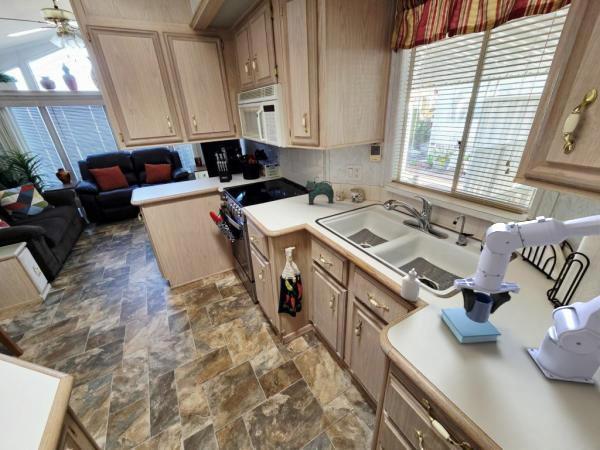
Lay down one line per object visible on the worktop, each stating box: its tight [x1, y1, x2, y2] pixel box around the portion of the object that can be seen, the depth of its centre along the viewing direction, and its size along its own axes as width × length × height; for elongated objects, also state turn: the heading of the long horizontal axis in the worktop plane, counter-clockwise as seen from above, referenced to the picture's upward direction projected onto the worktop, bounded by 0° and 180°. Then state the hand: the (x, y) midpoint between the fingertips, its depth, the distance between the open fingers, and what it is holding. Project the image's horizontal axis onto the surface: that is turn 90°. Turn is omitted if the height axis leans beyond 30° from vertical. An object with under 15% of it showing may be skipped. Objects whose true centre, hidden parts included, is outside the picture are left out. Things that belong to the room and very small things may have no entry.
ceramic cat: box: [305, 176, 335, 206], centre depth 178 cm, size 20×6×20 cm, turn 90°
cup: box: [465, 290, 494, 323], centre depth 68 cm, size 5×5×6 cm
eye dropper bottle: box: [400, 268, 421, 302], centre depth 85 cm, size 4×6×12 cm
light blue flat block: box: [441, 306, 502, 344], centre depth 74 cm, size 11×11×3 cm
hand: (478, 310), depth 68 cm, fingers closed on cup, 5 cm apart
